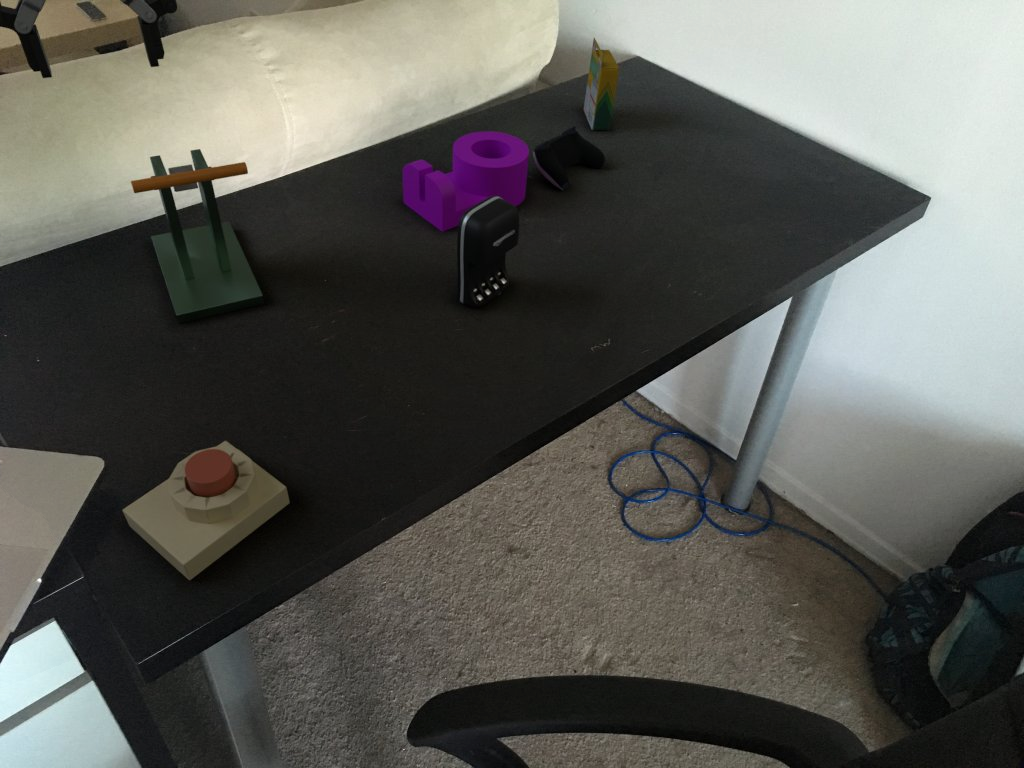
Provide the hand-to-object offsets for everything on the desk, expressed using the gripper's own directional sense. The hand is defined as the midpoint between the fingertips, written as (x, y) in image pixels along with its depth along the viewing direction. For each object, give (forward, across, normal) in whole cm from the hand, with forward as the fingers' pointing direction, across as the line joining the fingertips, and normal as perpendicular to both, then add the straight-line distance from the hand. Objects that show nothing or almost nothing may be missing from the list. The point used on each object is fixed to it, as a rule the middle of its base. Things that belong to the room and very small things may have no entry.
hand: (102, 69), depth 68 cm
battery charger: (+26, +33, -11) cm, 43 cm away
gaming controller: (+25, +55, +11) cm, 62 cm away
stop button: (+22, 0, -30) cm, 37 cm away
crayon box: (+25, +68, +24) cm, 76 cm away
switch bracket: (+25, +4, +4) cm, 26 cm away
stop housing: (+25, -1, -30) cm, 40 cm away
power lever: (+12, +5, -1) cm, 13 cm away
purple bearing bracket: (+25, +40, +9) cm, 48 cm away
